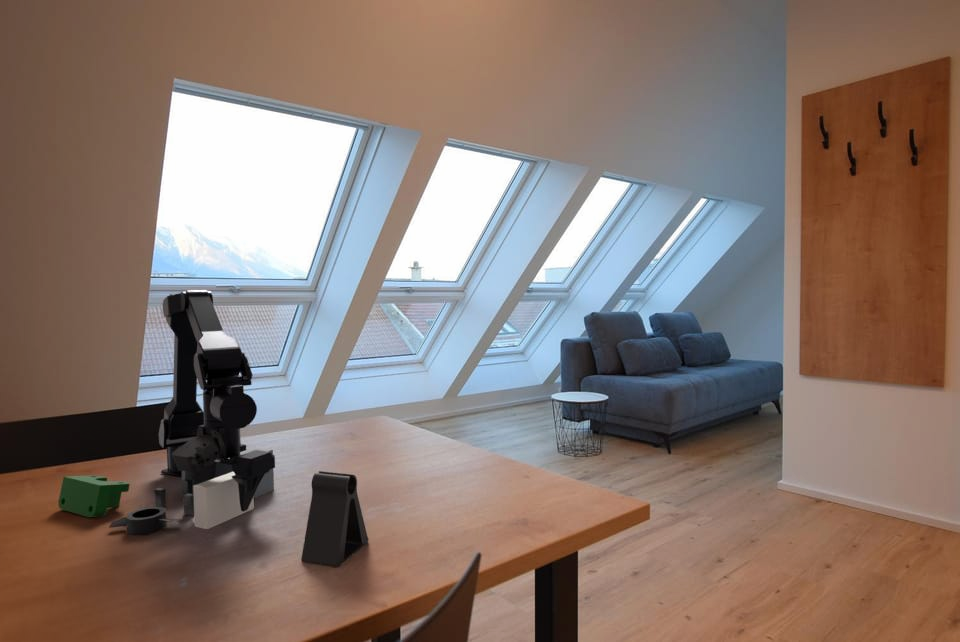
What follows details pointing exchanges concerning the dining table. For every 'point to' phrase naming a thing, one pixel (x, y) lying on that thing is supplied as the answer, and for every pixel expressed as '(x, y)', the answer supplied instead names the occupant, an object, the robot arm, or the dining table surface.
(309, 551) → the phone stand
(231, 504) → the white block
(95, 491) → the clamp
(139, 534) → the dark grey tabbed ring
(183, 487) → the clip brackets
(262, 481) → the cabinet
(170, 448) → the robot arm
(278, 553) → the dining table surface
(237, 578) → the dining table surface
